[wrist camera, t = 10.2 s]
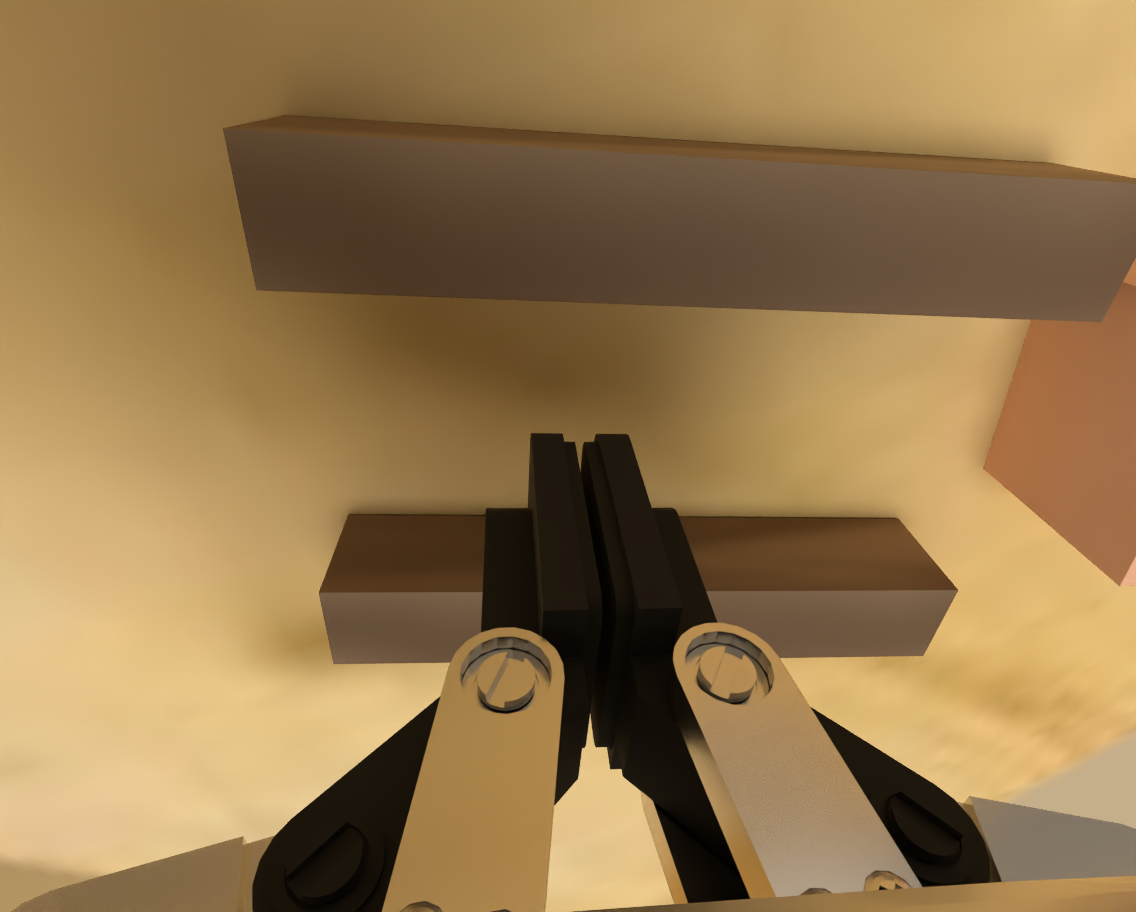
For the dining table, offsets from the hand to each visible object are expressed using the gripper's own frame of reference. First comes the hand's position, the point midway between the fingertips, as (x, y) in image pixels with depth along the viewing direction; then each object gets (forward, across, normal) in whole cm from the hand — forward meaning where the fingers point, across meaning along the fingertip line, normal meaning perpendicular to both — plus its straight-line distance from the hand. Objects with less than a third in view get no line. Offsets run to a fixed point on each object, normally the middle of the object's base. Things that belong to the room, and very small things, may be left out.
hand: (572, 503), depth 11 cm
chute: (+5, -2, +1) cm, 6 cm away
